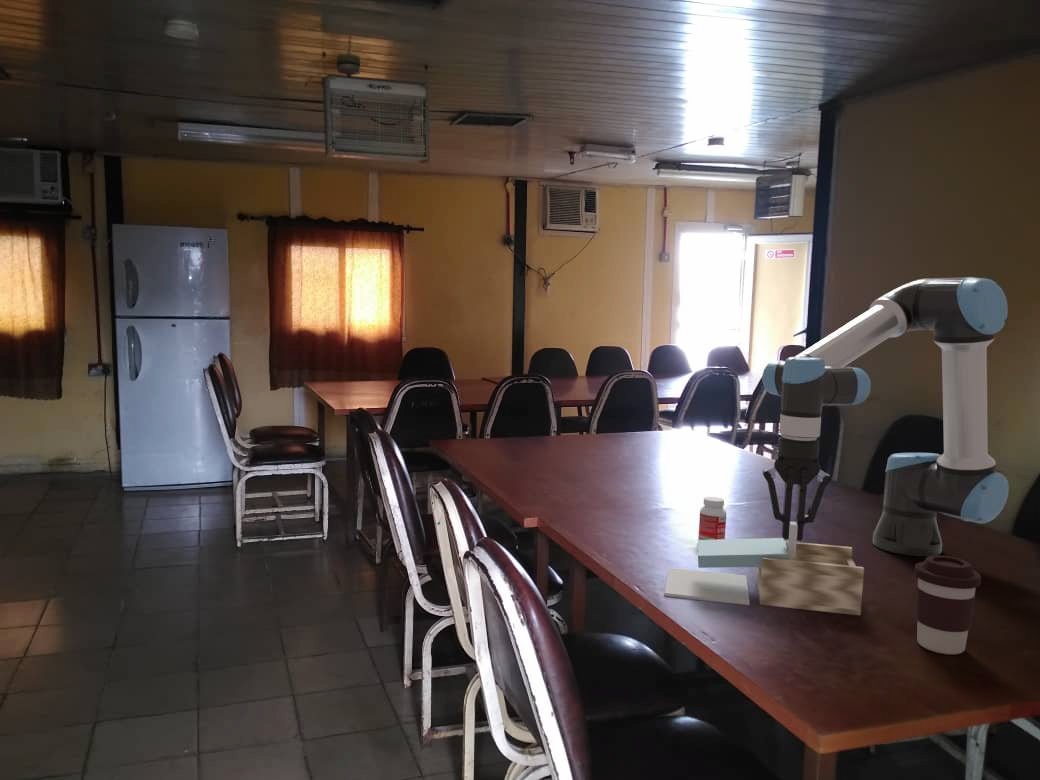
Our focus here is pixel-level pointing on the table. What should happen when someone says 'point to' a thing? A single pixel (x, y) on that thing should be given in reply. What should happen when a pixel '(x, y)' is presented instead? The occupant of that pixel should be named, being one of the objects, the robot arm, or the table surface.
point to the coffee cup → (945, 603)
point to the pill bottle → (712, 519)
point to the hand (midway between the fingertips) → (790, 555)
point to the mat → (707, 586)
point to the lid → (740, 552)
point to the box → (812, 580)
